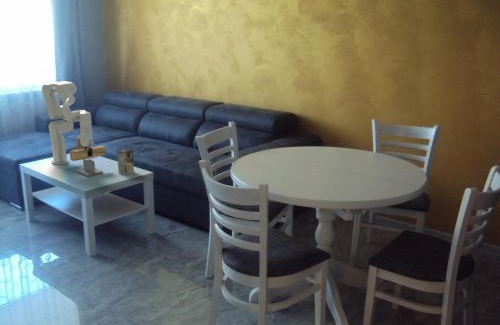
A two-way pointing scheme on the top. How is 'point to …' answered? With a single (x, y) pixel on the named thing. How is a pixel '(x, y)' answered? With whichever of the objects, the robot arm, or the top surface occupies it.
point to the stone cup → (78, 144)
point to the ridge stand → (89, 168)
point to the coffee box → (125, 161)
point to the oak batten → (83, 153)
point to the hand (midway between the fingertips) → (88, 155)
